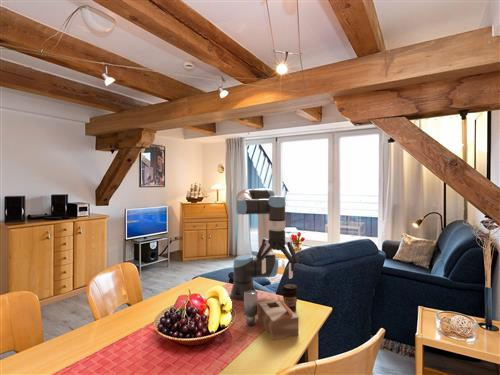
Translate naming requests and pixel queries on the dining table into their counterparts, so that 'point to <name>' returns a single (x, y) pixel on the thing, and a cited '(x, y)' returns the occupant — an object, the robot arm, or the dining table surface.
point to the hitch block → (277, 320)
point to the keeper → (284, 305)
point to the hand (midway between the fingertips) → (277, 275)
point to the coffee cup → (290, 296)
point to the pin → (250, 306)
